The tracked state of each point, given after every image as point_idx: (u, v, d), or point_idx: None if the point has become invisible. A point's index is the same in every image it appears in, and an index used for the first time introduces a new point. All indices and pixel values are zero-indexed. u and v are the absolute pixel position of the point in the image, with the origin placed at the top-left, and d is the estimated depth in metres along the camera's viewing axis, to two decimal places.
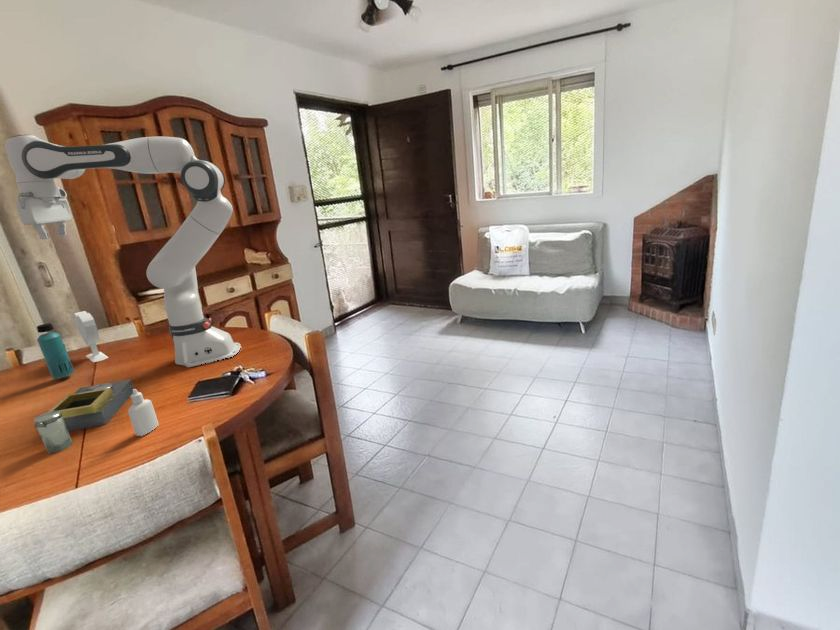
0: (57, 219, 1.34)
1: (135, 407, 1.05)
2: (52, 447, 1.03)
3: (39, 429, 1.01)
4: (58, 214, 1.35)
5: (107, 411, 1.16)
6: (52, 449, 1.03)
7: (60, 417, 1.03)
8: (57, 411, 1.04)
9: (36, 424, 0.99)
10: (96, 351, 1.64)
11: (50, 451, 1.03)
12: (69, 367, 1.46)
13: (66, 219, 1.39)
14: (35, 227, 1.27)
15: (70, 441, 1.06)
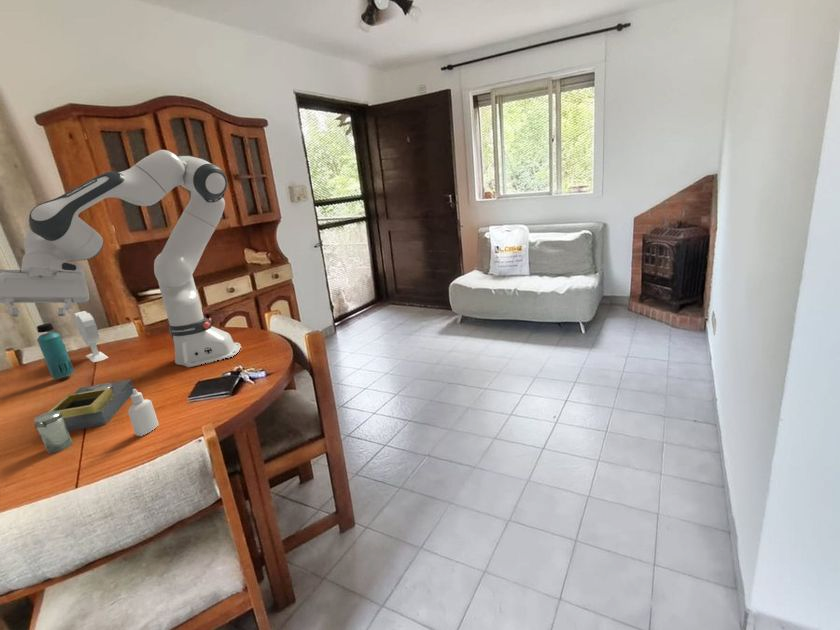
0: (45, 294, 1.11)
1: (135, 407, 1.05)
2: (52, 447, 1.03)
3: (39, 429, 1.01)
4: (53, 289, 1.13)
5: (107, 411, 1.16)
6: (52, 449, 1.03)
7: (60, 417, 1.03)
8: (57, 411, 1.04)
9: (36, 424, 0.99)
10: (96, 351, 1.64)
11: (50, 451, 1.03)
12: (69, 367, 1.46)
13: (70, 295, 1.14)
14: None
15: (70, 441, 1.06)
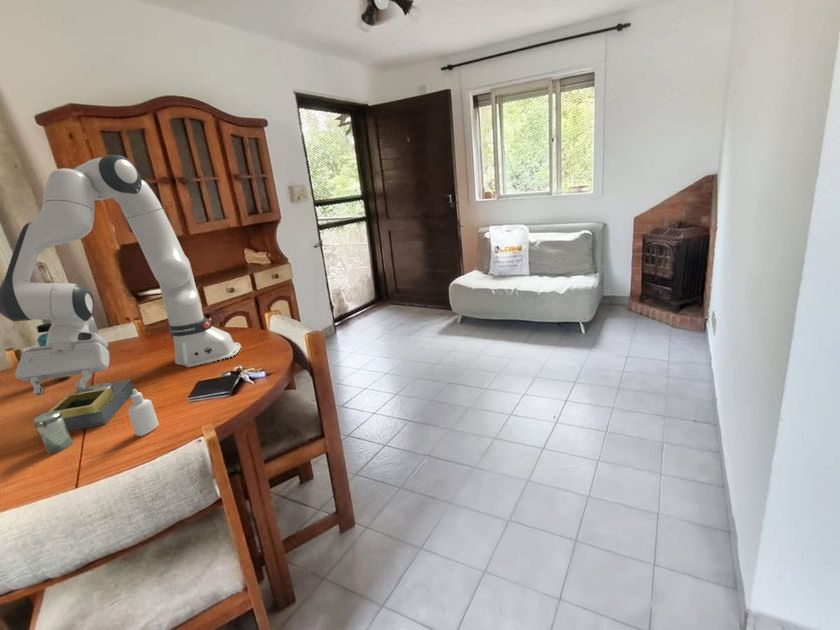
0: (64, 368, 1.10)
1: (135, 407, 1.05)
2: (52, 447, 1.03)
3: (39, 429, 1.01)
4: (71, 362, 1.11)
5: (107, 411, 1.16)
6: (52, 449, 1.03)
7: (60, 417, 1.03)
8: (57, 411, 1.04)
9: (36, 424, 0.99)
10: None
11: (50, 451, 1.03)
12: None
13: (86, 366, 1.11)
14: None
15: (70, 441, 1.06)
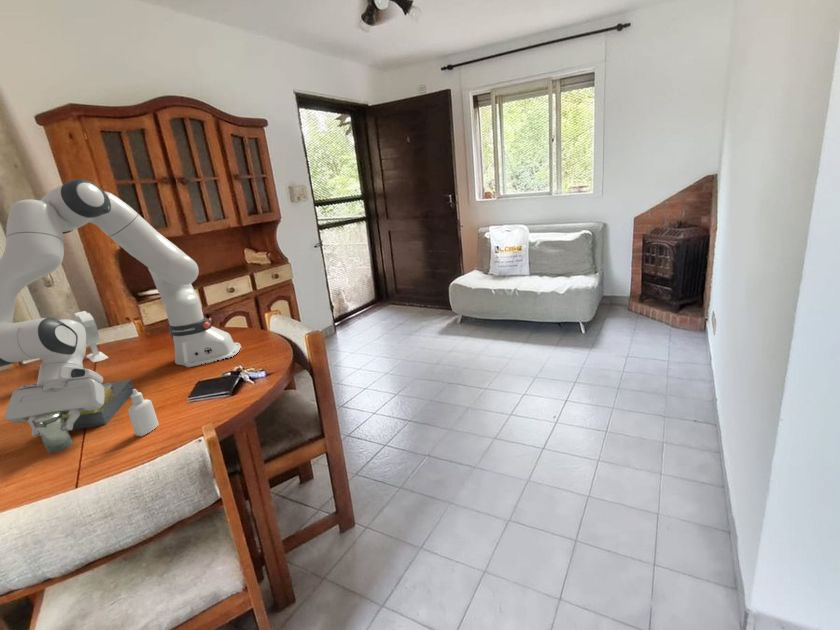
0: (56, 408, 1.04)
1: (135, 407, 1.05)
2: (52, 447, 1.03)
3: (39, 429, 1.01)
4: (64, 400, 1.05)
5: (107, 411, 1.16)
6: (52, 449, 1.03)
7: (60, 417, 1.03)
8: (57, 411, 1.04)
9: (36, 424, 0.99)
10: (96, 351, 1.64)
11: (50, 451, 1.03)
12: None
13: (79, 405, 1.05)
14: None
15: (70, 441, 1.06)
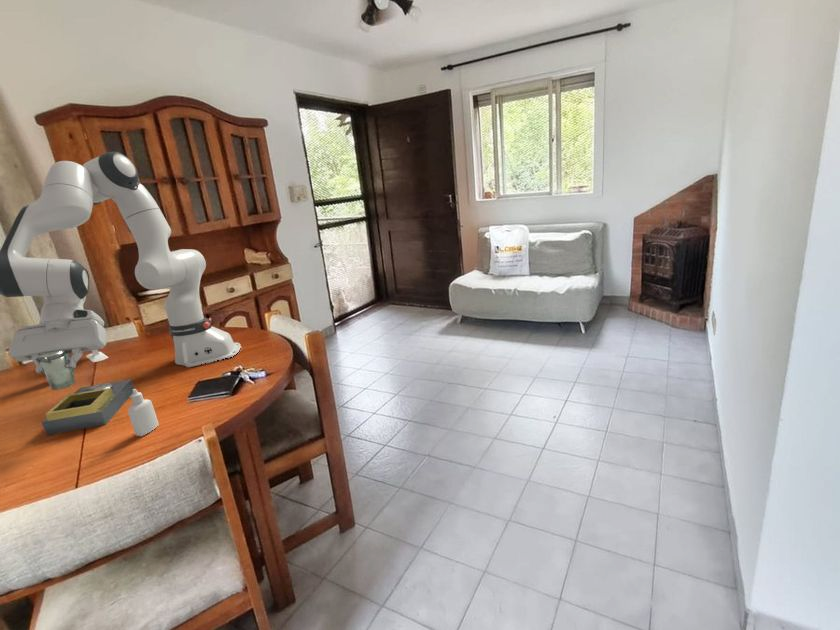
0: (60, 346, 1.07)
1: (135, 407, 1.05)
2: (56, 384, 1.05)
3: (43, 365, 1.04)
4: (67, 339, 1.08)
5: (107, 411, 1.16)
6: (56, 385, 1.05)
7: (64, 355, 1.06)
8: None
9: (41, 359, 1.01)
10: (96, 351, 1.64)
11: (54, 388, 1.05)
12: None
13: (83, 344, 1.08)
14: None
15: (73, 379, 1.08)
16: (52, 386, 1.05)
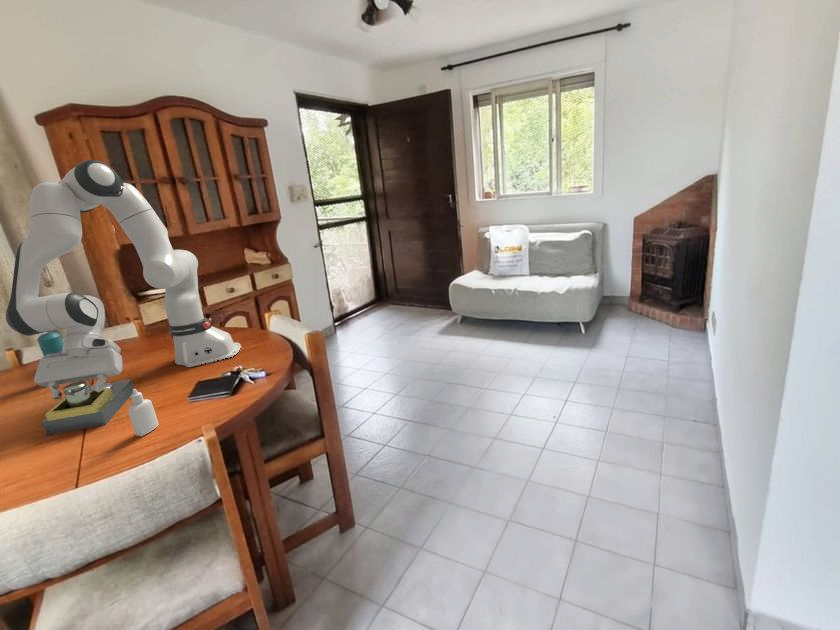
0: (80, 373, 1.16)
1: (135, 407, 1.05)
2: None
3: (67, 397, 1.13)
4: (87, 367, 1.17)
5: (107, 411, 1.16)
6: None
7: (86, 387, 1.16)
8: (83, 382, 1.17)
9: (65, 392, 1.11)
10: None
11: None
12: None
13: (100, 371, 1.17)
14: None
15: None
16: None
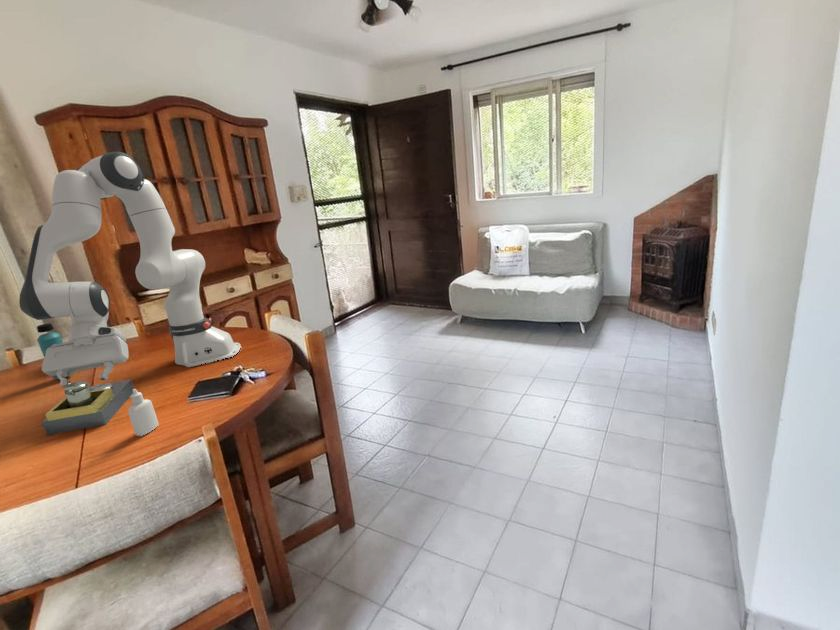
0: (87, 361, 1.17)
1: (135, 407, 1.05)
2: None
3: (68, 396, 1.13)
4: (94, 355, 1.18)
5: (107, 411, 1.16)
6: None
7: (86, 387, 1.16)
8: (84, 381, 1.16)
9: (66, 392, 1.11)
10: None
11: None
12: None
13: (108, 358, 1.18)
14: None
15: None
16: None
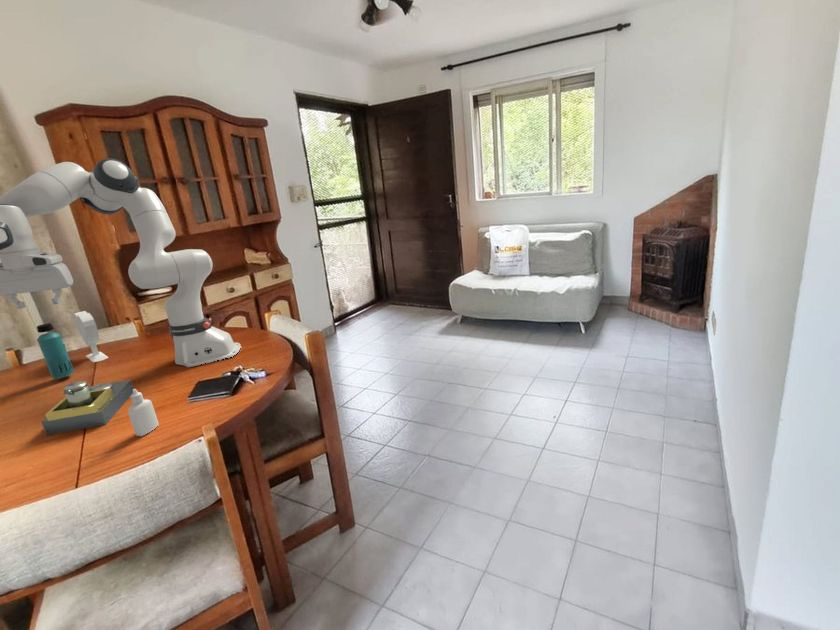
0: (34, 289, 1.24)
1: (135, 407, 1.05)
2: None
3: (67, 396, 1.13)
4: (38, 283, 1.24)
5: (107, 411, 1.16)
6: None
7: (86, 387, 1.16)
8: (83, 381, 1.17)
9: (65, 391, 1.11)
10: (96, 351, 1.64)
11: None
12: (69, 367, 1.46)
13: (54, 287, 1.25)
14: None
15: None
16: None
